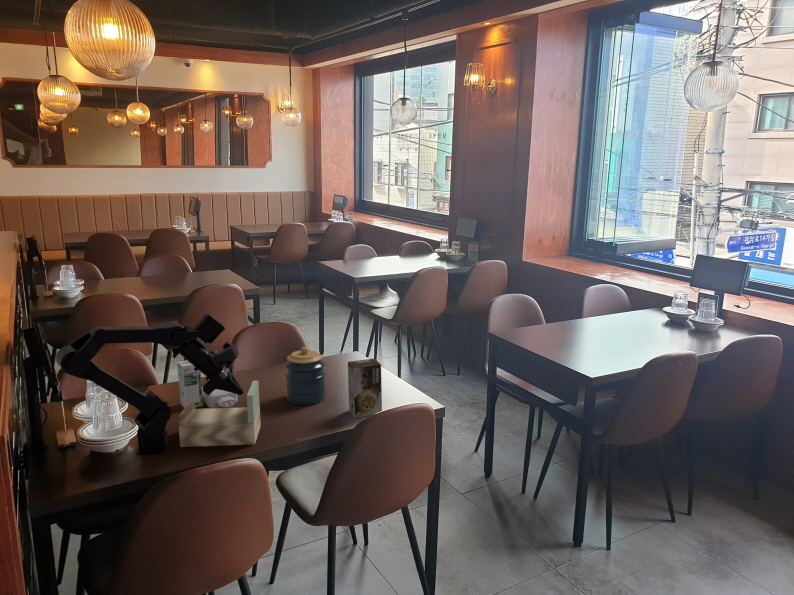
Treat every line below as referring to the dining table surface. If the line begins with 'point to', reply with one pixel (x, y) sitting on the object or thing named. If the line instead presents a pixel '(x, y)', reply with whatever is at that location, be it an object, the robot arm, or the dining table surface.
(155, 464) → the dining table surface
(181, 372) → the syrup box
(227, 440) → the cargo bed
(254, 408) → the pale green flat block
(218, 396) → the charger
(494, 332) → the dining table surface
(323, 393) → the canister
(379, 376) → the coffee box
